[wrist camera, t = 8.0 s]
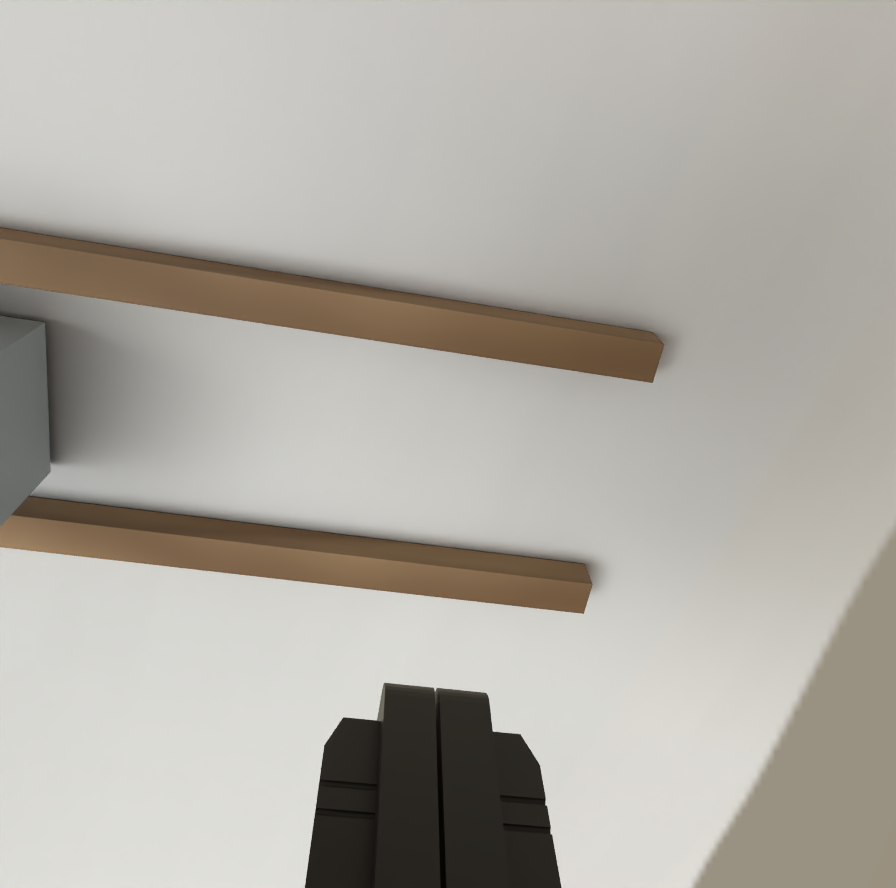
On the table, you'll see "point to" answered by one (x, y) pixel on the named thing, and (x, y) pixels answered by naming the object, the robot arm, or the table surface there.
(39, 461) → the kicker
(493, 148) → the table surface
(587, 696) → the table surface
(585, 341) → the pair of wooden rails
